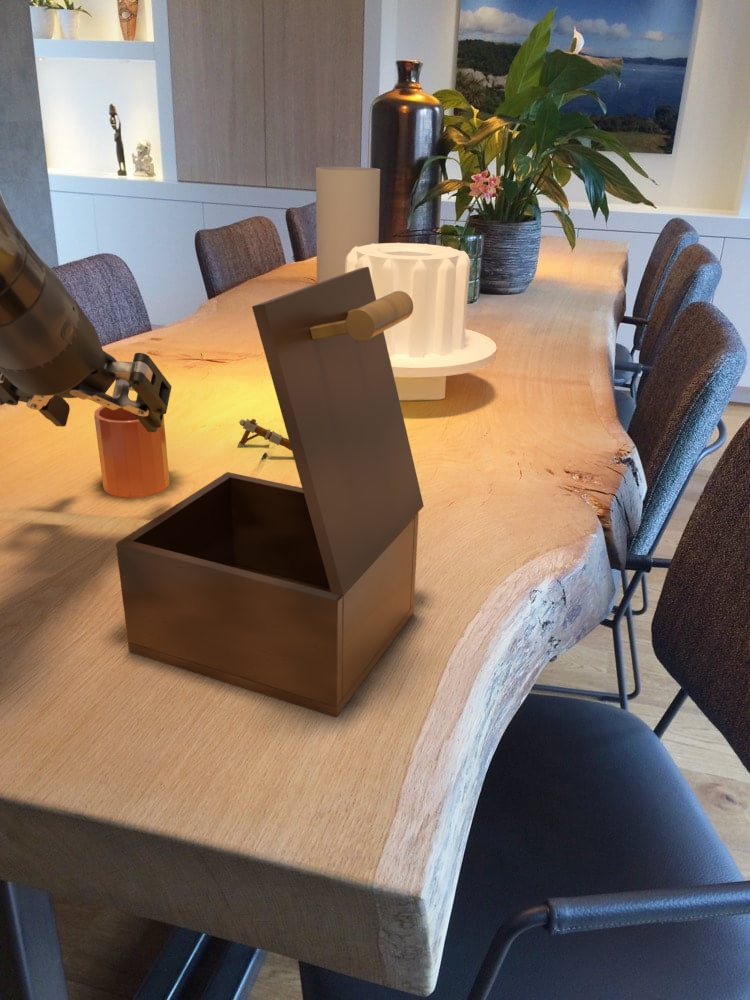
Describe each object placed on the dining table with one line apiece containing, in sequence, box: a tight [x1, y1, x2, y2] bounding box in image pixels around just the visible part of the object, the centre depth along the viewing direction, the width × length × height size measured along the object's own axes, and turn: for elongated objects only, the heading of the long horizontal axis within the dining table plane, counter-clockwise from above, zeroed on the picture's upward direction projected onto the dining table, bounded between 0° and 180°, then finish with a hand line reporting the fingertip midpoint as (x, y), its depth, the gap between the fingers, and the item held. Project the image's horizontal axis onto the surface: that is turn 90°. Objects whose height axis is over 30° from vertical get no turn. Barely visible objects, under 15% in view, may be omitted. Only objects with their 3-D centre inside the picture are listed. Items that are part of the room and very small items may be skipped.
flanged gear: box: [345, 242, 497, 402], centre depth 112 cm, size 25×25×19 cm
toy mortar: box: [236, 418, 292, 459], centre depth 92 cm, size 2×8×4 cm, turn 93°
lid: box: [251, 267, 424, 595], centre depth 51 cm, size 17×14×5 cm
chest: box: [115, 471, 420, 718], centre depth 60 cm, size 17×14×9 cm
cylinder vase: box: [315, 166, 381, 284], centre depth 167 cm, size 12×12×25 cm
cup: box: [93, 399, 171, 499], centre depth 81 cm, size 6×6×9 cm
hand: (109, 419), depth 74 cm, fingers open, 8 cm apart
